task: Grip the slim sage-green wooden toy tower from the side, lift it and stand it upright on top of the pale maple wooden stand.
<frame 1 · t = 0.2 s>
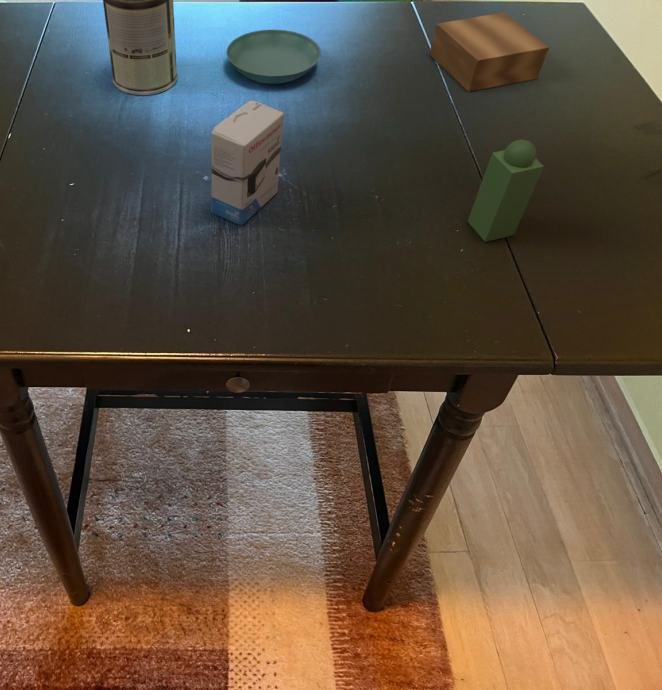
saucer: (272, 68, 109), on the table
toy tower: (490, 228, 84), on the table
stand: (481, 66, 108), on the table
ink box: (245, 203, 88), on the table
coffee can: (145, 79, 107), on the table
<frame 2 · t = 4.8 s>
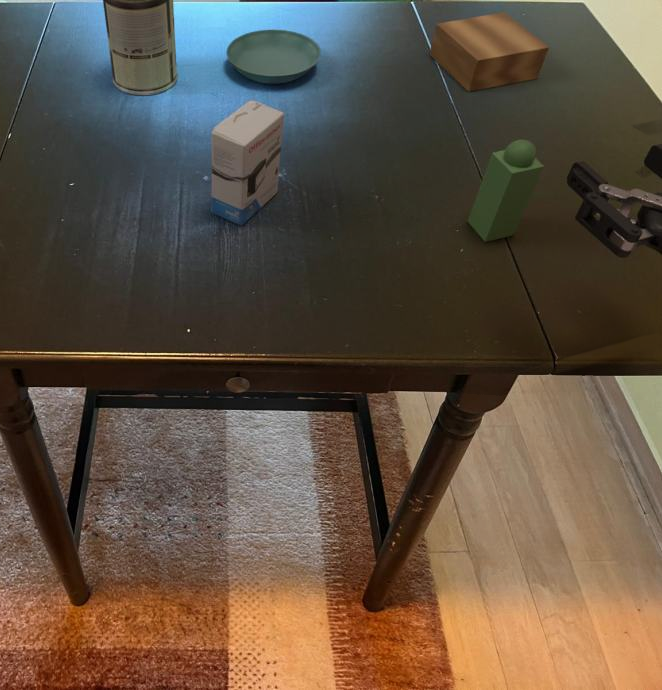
hand: (612, 161, 64), 17 cm above the table, tool horizontal, fingers open, 8 cm apart
nothing on the table moved.
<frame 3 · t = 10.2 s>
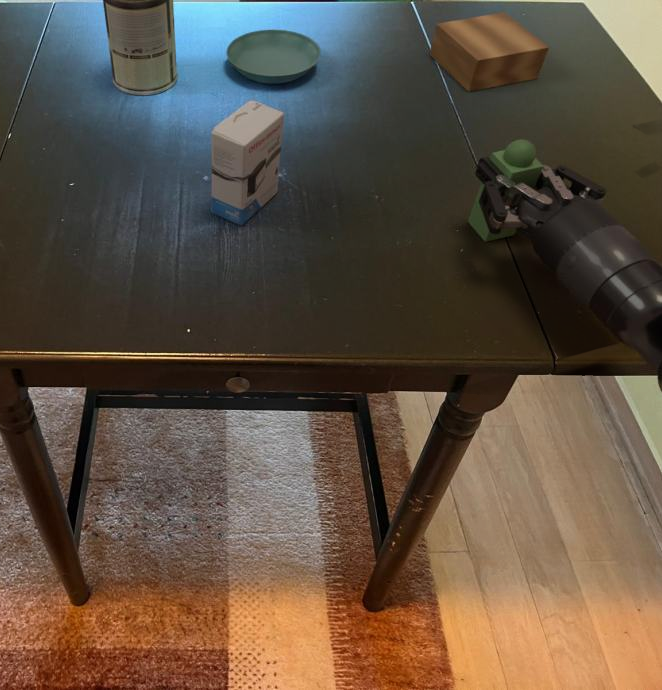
hand: (498, 160, 79), 8 cm above the table, tool horizontal, fingers closed on toy tower, 4 cm apart
toy tower: (490, 228, 84), on the table, touching gripper
everything else where it was.
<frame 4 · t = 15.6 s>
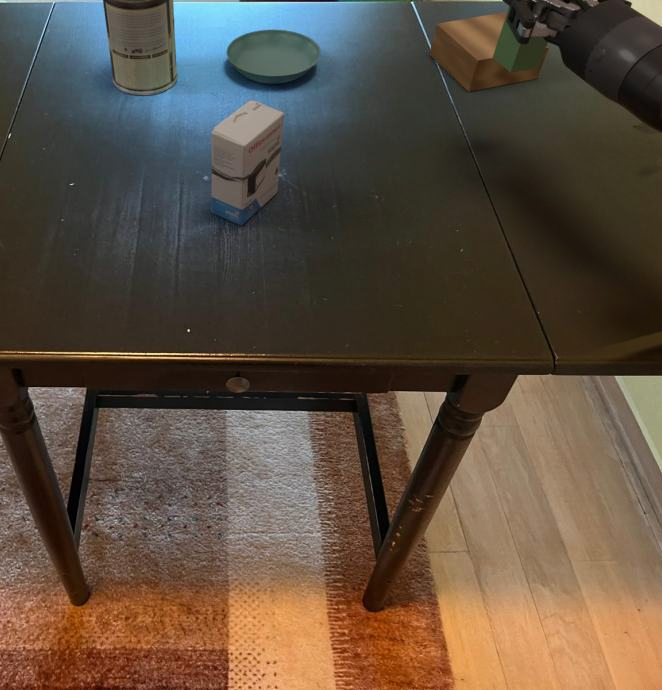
toy tower: (515, 62, 85), point 12 cm above the table, touching gripper
everything else where it was.
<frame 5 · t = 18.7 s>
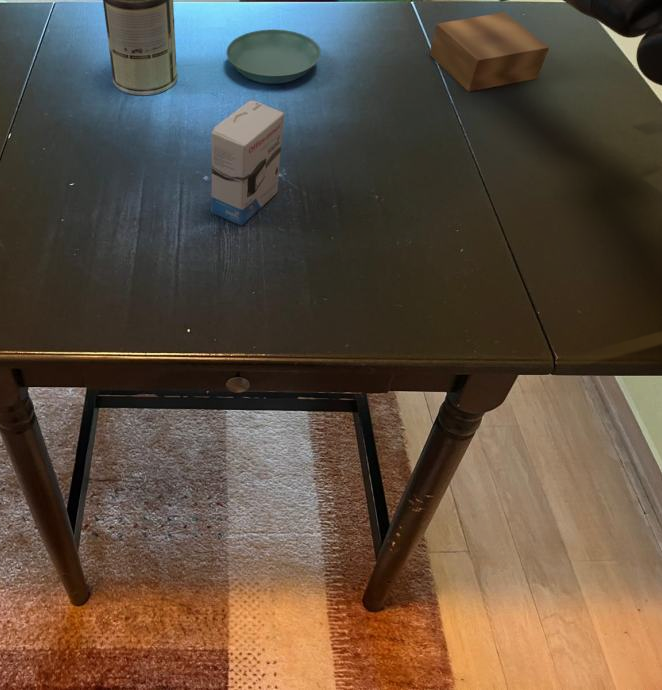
when the fingers open (13 cm above the table, at t = 21.0 s): toy tower stays where it is, resting on stand.
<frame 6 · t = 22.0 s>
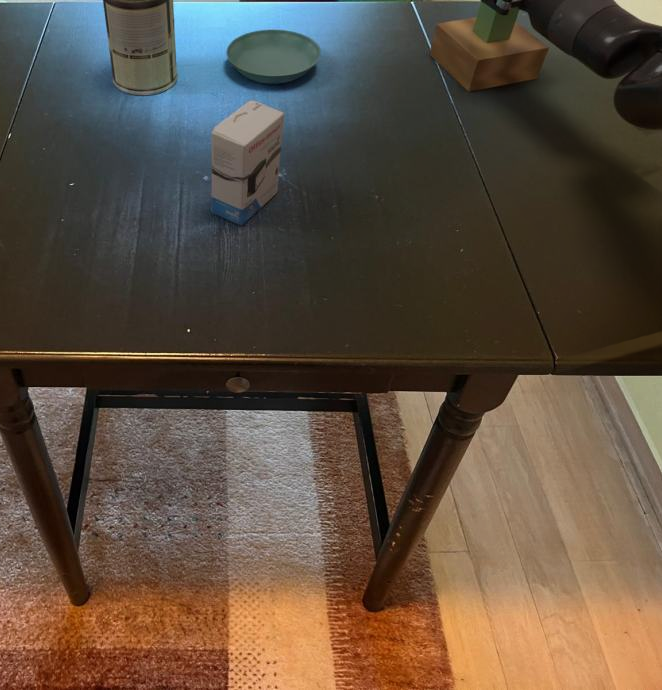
toy tower: (490, 35, 104), point 5 cm above the table, touching stand
everything else where it was.
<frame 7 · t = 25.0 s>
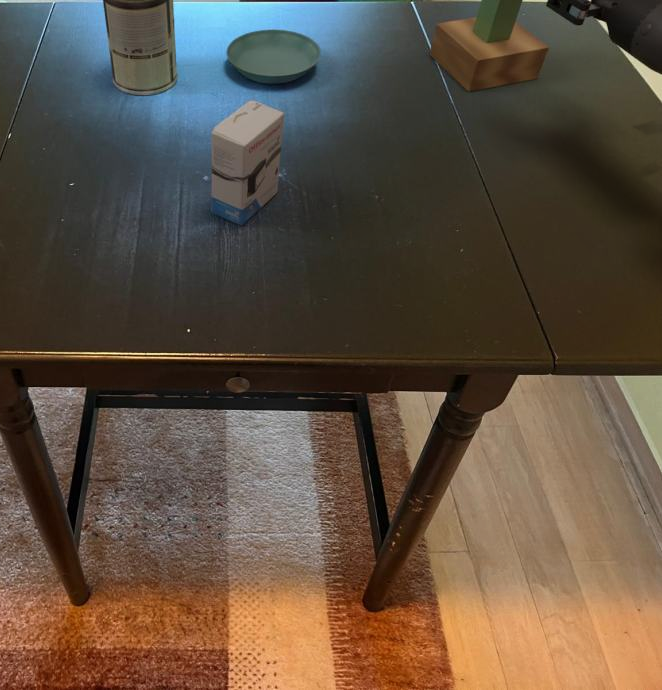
nothing on the table moved.
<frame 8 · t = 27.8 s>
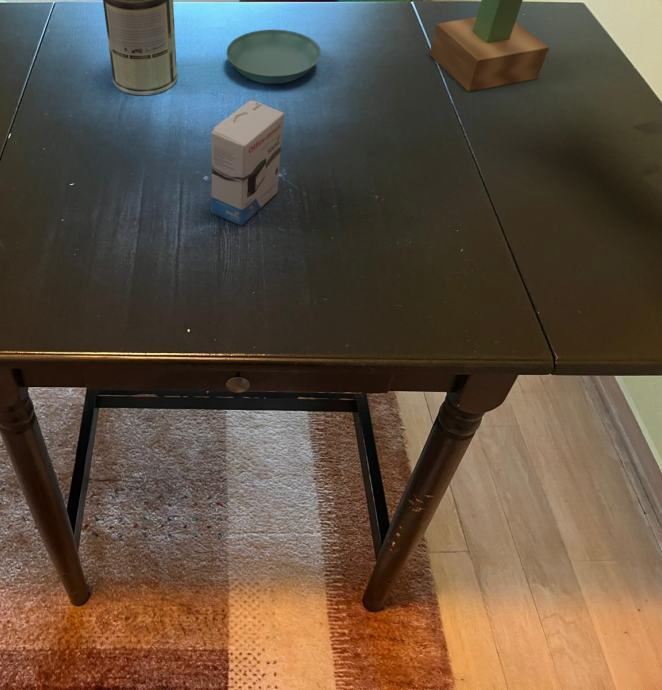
nothing on the table moved.
at the end: toy tower inside the target area on the stand (0.1 cm from its centre), point 5.0 cm above the stand's base; toy tower tilted 0° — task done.
